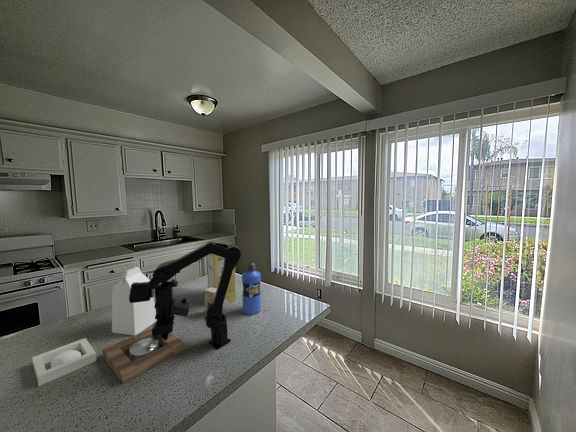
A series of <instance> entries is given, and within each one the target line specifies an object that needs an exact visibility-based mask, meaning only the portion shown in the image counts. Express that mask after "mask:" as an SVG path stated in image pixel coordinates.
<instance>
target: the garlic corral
mask: <svg viewBox="0 0 576 432" xmlns="http://www.w3.org/2000/svg"><path fill="white" fill-rule="evenodd" d="M69 350H76V351H79V352H81V356H80V357H77V358H75V359H72V360H70V361H68V362H65V363H63V364H60V365H58V366H55V367H53V368H52V367H50V368H49V369H47V368H46V364H48V363H51V361H52V359H53V358H55V357H56V356H57V355H59V354H60V353H62V352H64V351H69ZM31 360H32V368H33V371H34V374H35V378H36V381H37V386H38V387H40V386H42V385H45V384H48V383H49V382H51V381H52V382H53V381H54V380H56V379H59V378H61V377H63V376H66V375H68V374H70V373H72V372H74V371H76V370H79V369H81V368H84V367H86V366H89V365H91V364H92V363H95V362H97V352H96V350H95V349H94V348H93V346H92V345H91V344H90V342H89V341H88V340H87V338H86V337H84V338H81V339H78V340H76V341H73V342H71V343H68V344H65V345H63V346H60V347H57V348H55V349H51V350H48V351H46V352H44V353H40V354H38V355H34V356H33V357H31Z"/></svg>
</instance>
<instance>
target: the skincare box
mask: <svg viewBox="0 0 576 432" xmlns="http://www.w3.org/2000/svg"><path fill="white" fill-rule="evenodd" d="M216 290H217V289H216V288H212V287H210V288H208V287H207V288H206V289H204V312H205V311H206V309H207V304H208V303H212V301H213V300H214V297H215V293H216Z"/></svg>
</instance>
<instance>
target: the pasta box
mask: <svg viewBox="0 0 576 432" xmlns="http://www.w3.org/2000/svg"><path fill="white" fill-rule="evenodd" d="M206 257H207V259H206V260H207V262H206V263H207V289H208V288H210V287H212V288H216V289H217V286H218V283H219V280H220V276H221V273H222V269H223V265H224V258H223V257H220V256H217V255H215V254H209V255H207V256H206ZM234 302H235V303H236V267H235V268H234V269H233V272H232V275H231V279H230V282H229V285H228V289H227V292H226V296H225V299H224V303H223V305H225V304H226V305H227V304H230V303H234Z"/></svg>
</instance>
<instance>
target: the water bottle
mask: <svg viewBox="0 0 576 432" xmlns="http://www.w3.org/2000/svg"><path fill="white" fill-rule="evenodd" d="M256 269H257V267H256V264H255V262H254V261H249V262H248V263H247V266H246V271H245V272H243V273H242V274H241V282H242V289H243V290H242V314H243V315H247V316H254V315H258V314H259V313H261V310H262V308H261V307H262V305H261V299H262V298H261V297H262V296H261V294H262V293H261V280H262V278H261V275H262V274H261V272H260V271H257V270H256Z"/></svg>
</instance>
